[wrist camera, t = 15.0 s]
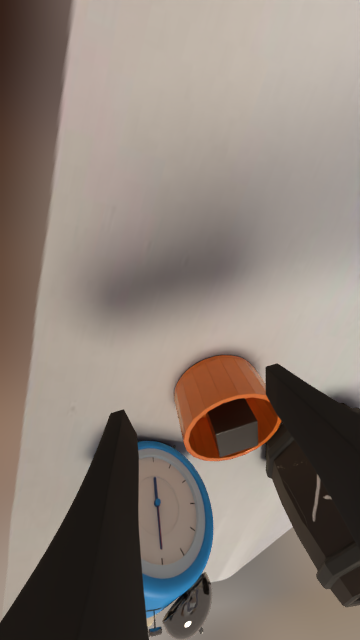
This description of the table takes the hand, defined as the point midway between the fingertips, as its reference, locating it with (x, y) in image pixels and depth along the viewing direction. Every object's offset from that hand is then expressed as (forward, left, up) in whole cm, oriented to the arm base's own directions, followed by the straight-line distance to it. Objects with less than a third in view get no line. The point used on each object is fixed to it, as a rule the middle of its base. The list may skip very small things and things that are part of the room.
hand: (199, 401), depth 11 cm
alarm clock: (+8, +20, -11) cm, 24 cm away
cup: (-3, +12, -10) cm, 16 cm away
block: (-3, +12, -10) cm, 16 cm away
